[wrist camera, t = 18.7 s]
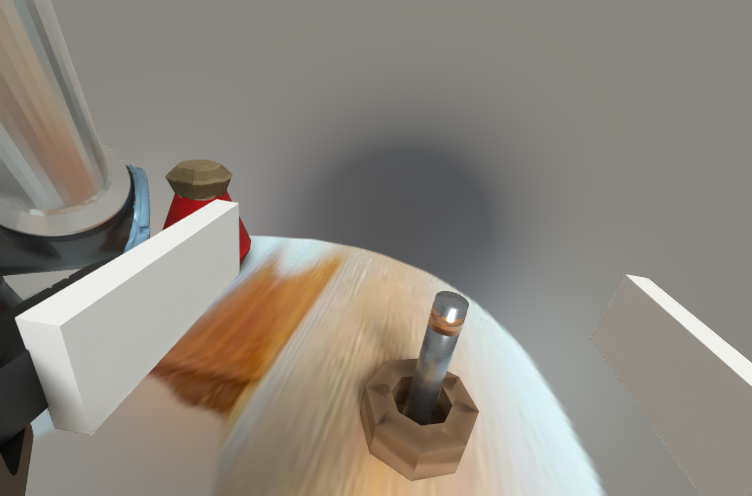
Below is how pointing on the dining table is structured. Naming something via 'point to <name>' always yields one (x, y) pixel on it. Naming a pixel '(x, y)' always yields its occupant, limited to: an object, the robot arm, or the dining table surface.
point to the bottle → (201, 193)
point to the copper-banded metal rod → (435, 355)
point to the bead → (407, 438)
